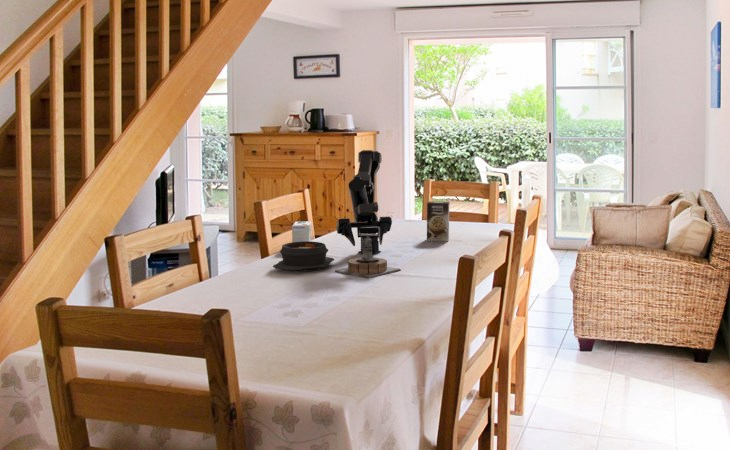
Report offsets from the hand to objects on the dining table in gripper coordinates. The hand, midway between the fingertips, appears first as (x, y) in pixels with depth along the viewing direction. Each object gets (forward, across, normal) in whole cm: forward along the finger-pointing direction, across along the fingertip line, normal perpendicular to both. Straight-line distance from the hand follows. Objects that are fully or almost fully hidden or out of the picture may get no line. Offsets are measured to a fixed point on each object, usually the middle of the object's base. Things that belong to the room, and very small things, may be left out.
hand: (367, 244), depth 277 cm
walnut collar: (+6, 0, +7) cm, 9 cm away
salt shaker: (+6, 0, +7) cm, 9 cm away
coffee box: (-32, +41, +46) cm, 69 cm away
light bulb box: (-27, -17, +41) cm, 52 cm away
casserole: (-2, -20, +15) cm, 26 cm away
